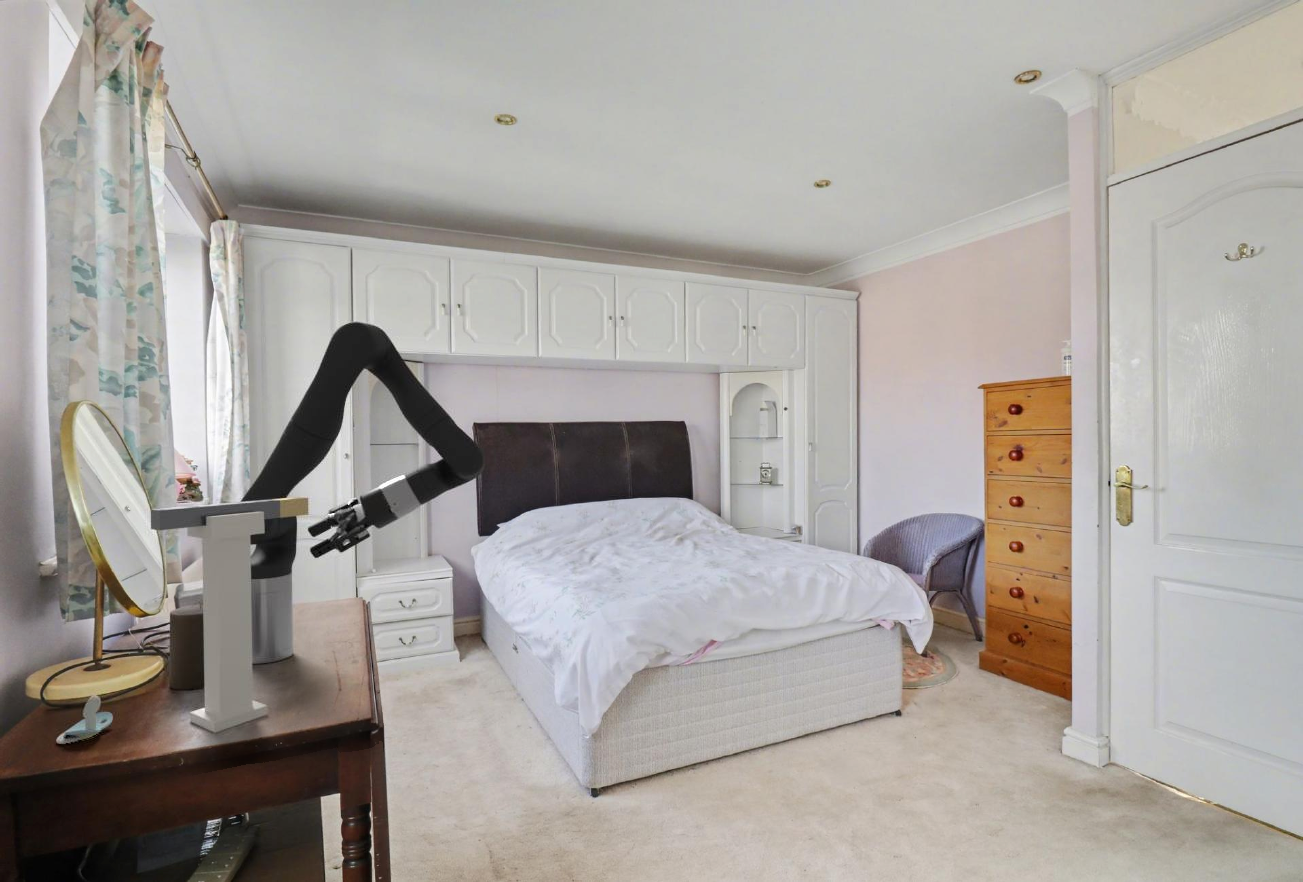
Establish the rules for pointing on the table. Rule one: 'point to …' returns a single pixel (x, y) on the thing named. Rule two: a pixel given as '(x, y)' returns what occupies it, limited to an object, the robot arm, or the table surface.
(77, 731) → the pacifier
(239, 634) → the stand
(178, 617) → the pillar candle
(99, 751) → the table surface
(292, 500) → the bar
